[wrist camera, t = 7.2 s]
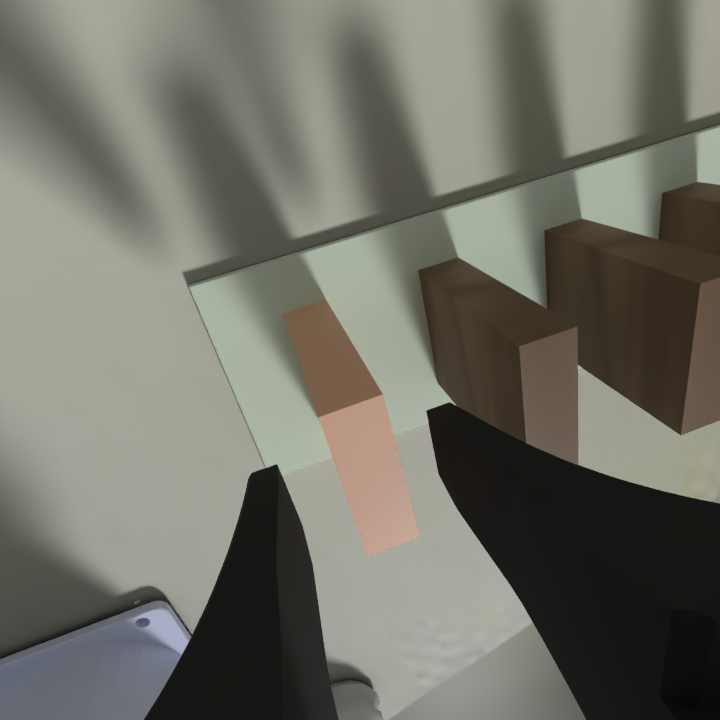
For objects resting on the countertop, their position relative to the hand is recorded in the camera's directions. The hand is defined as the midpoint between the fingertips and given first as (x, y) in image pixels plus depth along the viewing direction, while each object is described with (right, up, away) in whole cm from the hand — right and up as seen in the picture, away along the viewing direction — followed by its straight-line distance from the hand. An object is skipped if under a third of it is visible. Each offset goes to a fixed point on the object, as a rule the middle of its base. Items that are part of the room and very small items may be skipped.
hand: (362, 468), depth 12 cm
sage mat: (+7, +5, +6) cm, 11 cm away
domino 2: (+7, +5, +6) cm, 11 cm away
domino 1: (+3, +4, +5) cm, 7 cm away
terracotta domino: (-1, +2, +5) cm, 5 cm away
